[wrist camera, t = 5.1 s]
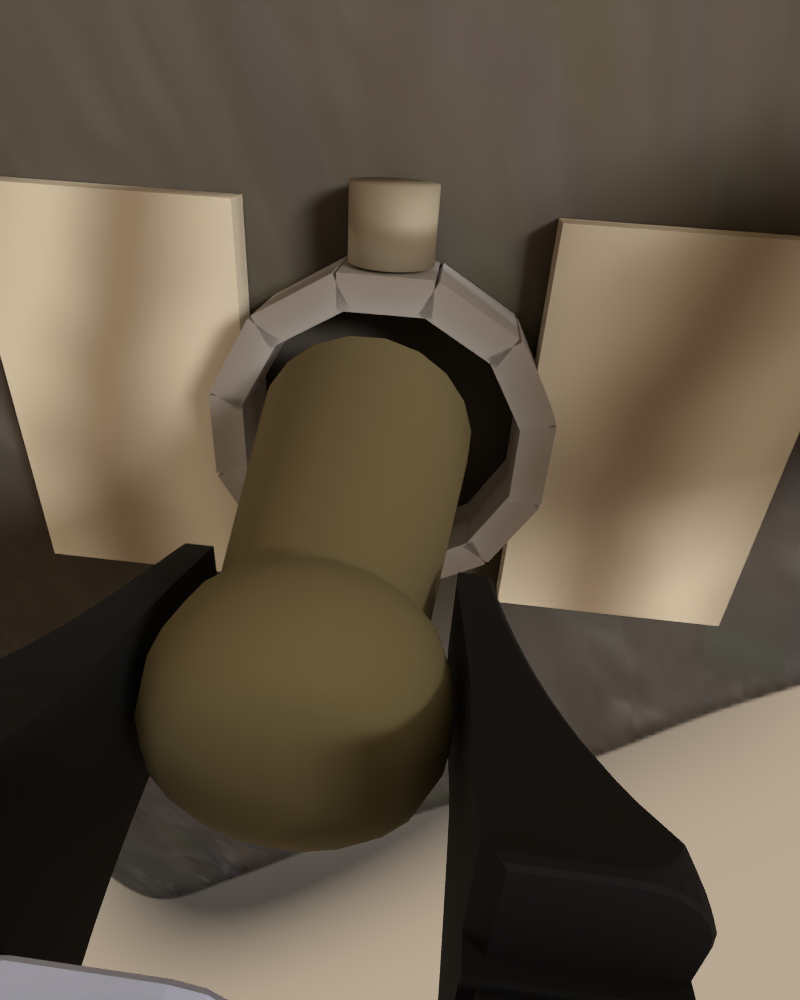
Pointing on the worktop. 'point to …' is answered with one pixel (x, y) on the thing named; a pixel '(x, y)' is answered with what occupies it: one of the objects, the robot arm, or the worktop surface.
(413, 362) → the cork
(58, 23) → the worktop surface
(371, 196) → the hinge base
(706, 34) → the worktop surface
